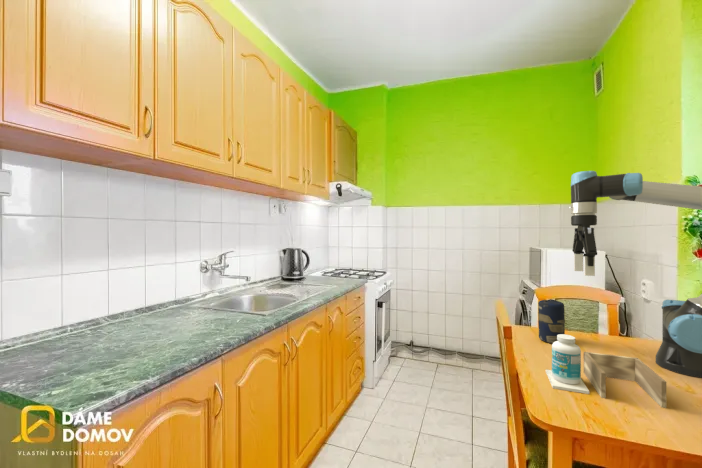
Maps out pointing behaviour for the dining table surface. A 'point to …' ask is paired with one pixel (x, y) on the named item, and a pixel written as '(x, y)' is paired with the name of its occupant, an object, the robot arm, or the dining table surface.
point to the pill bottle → (566, 360)
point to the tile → (569, 387)
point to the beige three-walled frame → (623, 374)
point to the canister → (550, 320)
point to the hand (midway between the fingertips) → (583, 273)
